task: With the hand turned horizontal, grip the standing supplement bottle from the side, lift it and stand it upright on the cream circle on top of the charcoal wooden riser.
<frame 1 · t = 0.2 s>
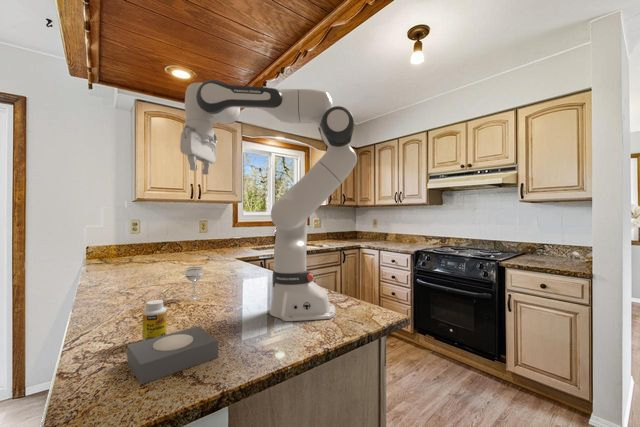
hand: (199, 172, 102), 48 cm above the countertop, tool pointing down, fingers open, 8 cm apart
supplement bottle: (154, 340, 80), on the countertop
riser: (173, 359, 69), on the countertop
wineglass: (194, 299, 118), on the countertop
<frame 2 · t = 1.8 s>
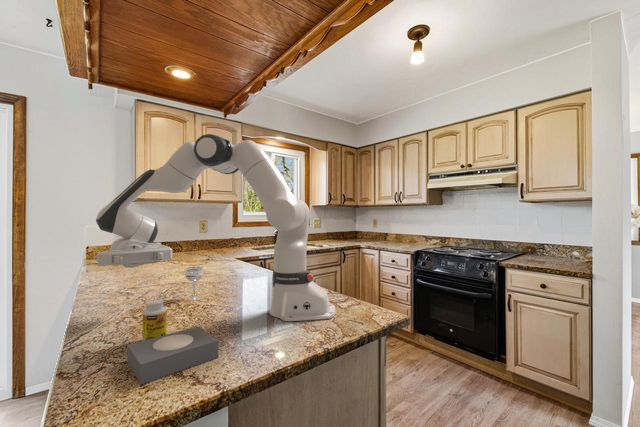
hand: (142, 258, 88), 20 cm above the countertop, tool horizontal, fingers open, 8 cm apart
nothing on the countertop moved.
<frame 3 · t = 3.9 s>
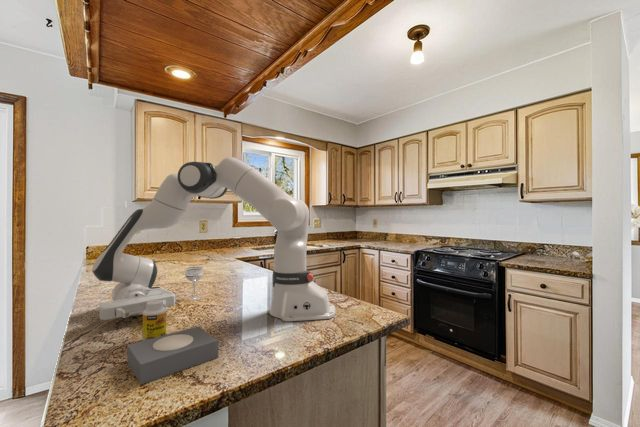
hand: (145, 310, 87), 5 cm above the countertop, tool horizontal, fingers open, 8 cm apart
nothing on the countertop moved.
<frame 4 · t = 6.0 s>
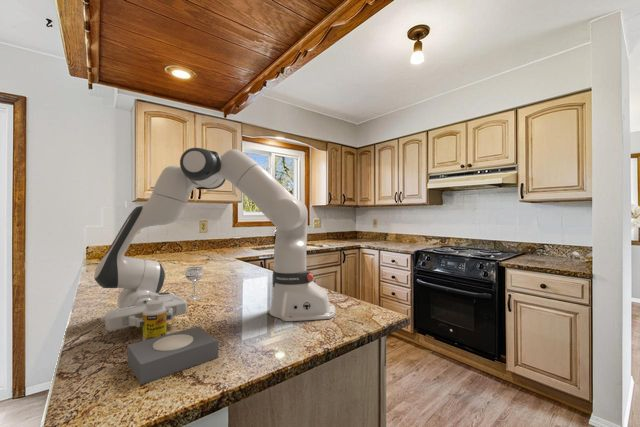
hand: (155, 320, 79), 6 cm above the countertop, tool horizontal, fingers closed on supplement bottle, 6 cm apart
supplement bottle: (154, 340, 80), on the countertop, touching gripper
everything else where it was.
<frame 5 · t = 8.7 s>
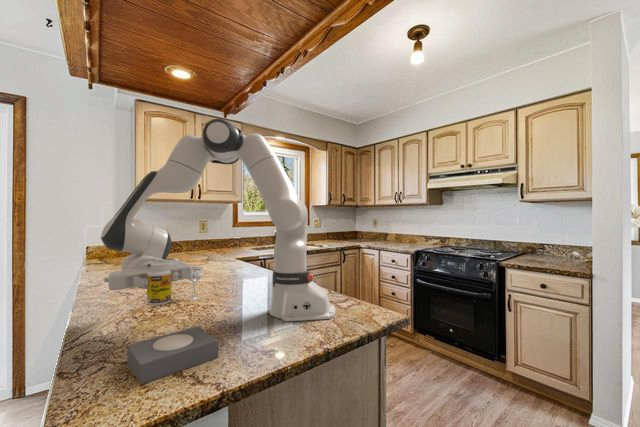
hand: (160, 280, 76), 17 cm above the countertop, tool horizontal, fingers closed on supplement bottle, 5 cm apart
supplement bottle: (159, 303, 77), point 11 cm above the countertop, touching gripper
everything else where it was.
when the fingers open (11 cm above the countertop, at t = 11.1 s): supplement bottle moves 1 cm, resting on riser.
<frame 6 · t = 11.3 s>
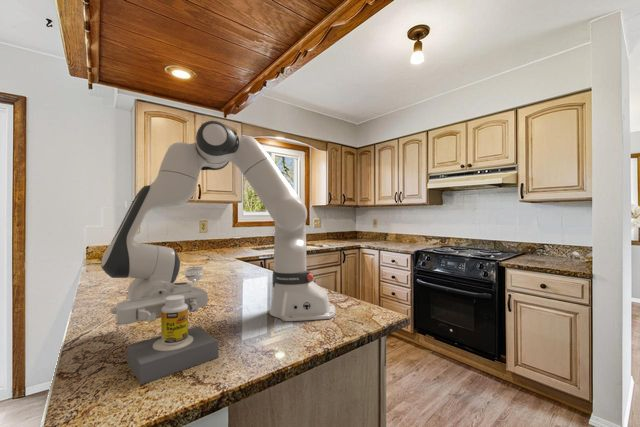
hand: (174, 312, 68), 11 cm above the countertop, tool horizontal, fingers open, 8 cm apart
supplement bottle: (174, 342, 69), point 4 cm above the countertop, touching riser
everything else where it was.
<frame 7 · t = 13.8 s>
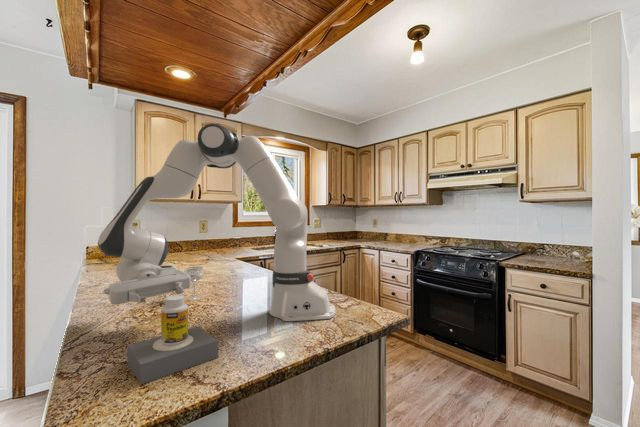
hand: (162, 295, 78), 12 cm above the countertop, tool horizontal, fingers open, 8 cm apart
nothing on the countertop moved.
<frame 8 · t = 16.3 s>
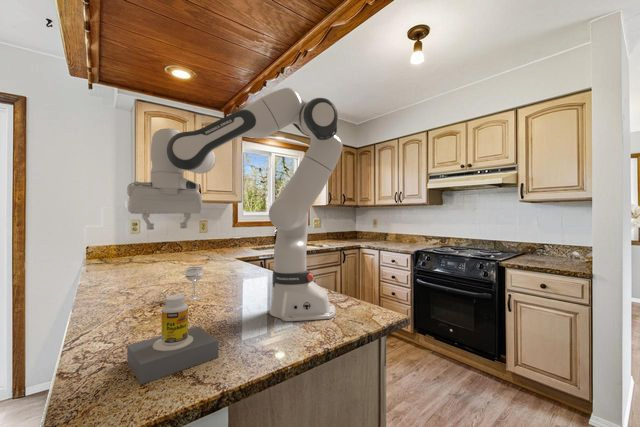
hand: (167, 228, 91), 29 cm above the countertop, tool pointing down, fingers open, 8 cm apart
nothing on the countertop moved.
at the end: supplement bottle 0.4 cm off-centre on the riser, point 4.0 cm above the riser's base; supplement bottle tilted 1°; the gripper is holding nothing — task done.
